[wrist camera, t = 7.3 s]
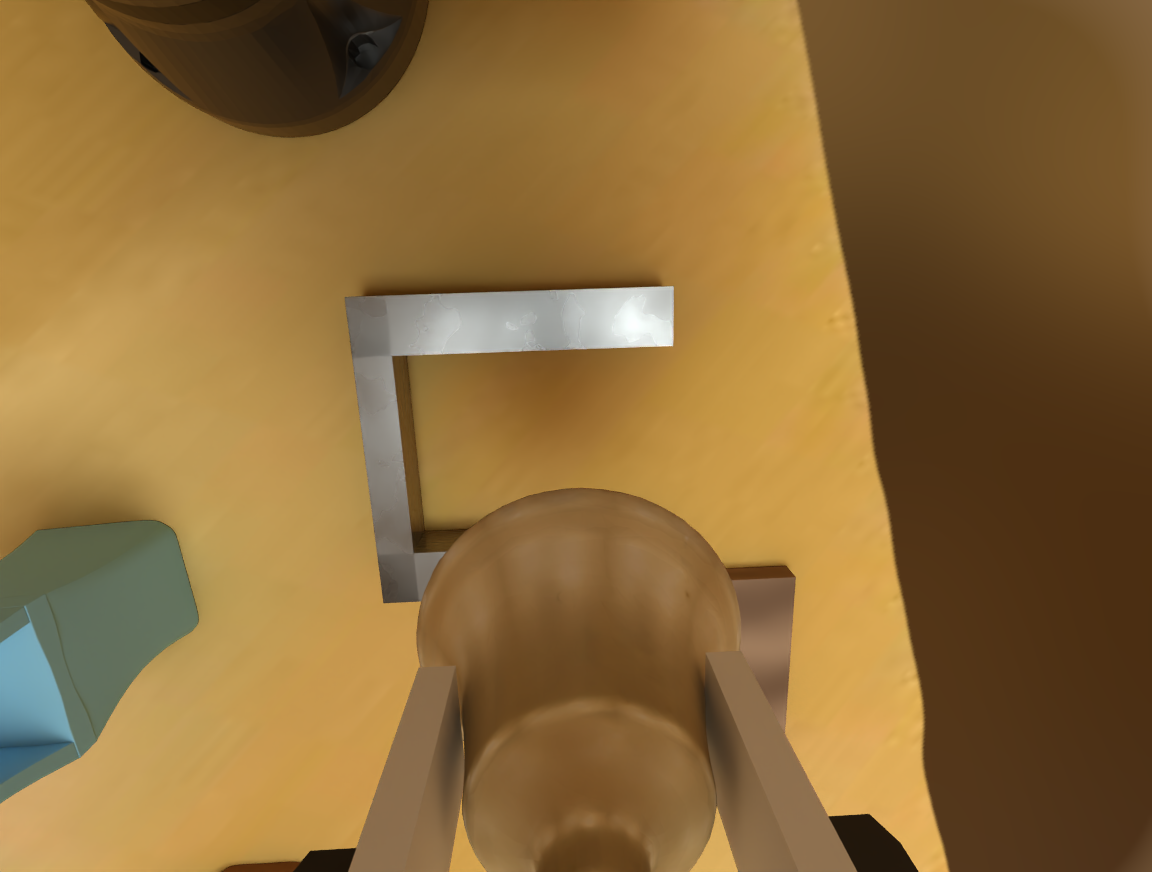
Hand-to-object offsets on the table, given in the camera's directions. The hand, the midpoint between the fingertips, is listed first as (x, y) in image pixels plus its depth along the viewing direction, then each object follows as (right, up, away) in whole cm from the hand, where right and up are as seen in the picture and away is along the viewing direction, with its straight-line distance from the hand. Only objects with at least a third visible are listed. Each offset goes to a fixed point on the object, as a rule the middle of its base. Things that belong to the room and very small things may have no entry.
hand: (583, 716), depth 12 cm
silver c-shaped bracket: (-3, +6, +22) cm, 23 cm away
